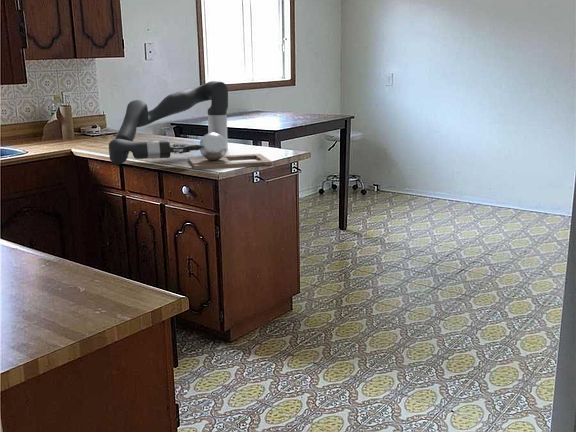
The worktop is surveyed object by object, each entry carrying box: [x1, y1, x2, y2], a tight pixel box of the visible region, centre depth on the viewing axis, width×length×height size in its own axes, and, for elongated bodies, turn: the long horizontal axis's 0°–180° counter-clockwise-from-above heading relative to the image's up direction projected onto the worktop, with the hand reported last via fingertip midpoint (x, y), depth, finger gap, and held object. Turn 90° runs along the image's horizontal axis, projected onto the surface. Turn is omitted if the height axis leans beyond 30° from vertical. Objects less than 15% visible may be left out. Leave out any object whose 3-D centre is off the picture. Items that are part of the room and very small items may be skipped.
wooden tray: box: [187, 153, 273, 170], centre depth 274 cm, size 22×33×2 cm, turn 106°
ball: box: [198, 132, 228, 161], centre depth 270 cm, size 12×12×12 cm
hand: (199, 147), depth 269 cm, fingers closed
